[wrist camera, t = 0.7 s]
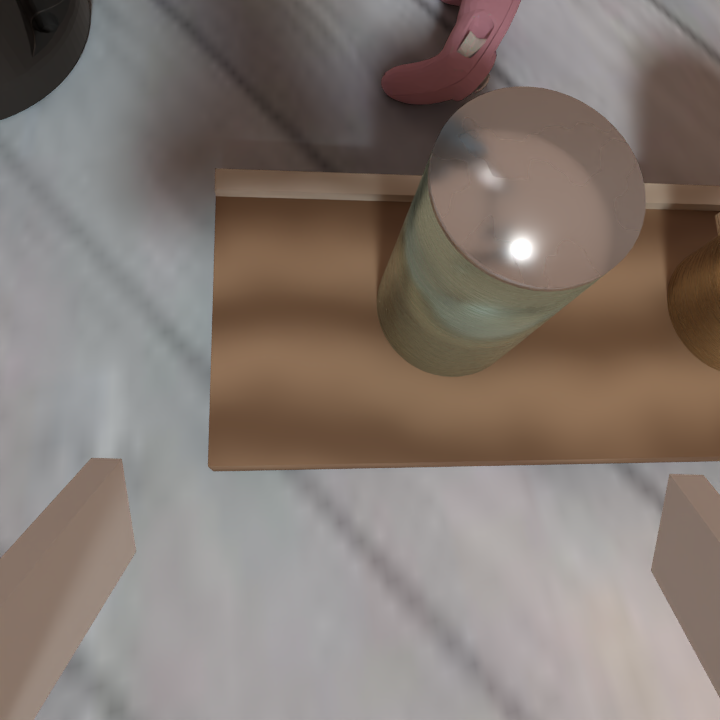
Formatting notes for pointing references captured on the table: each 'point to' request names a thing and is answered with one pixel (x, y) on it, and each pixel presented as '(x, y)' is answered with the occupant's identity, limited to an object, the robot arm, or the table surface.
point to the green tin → (507, 227)
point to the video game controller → (455, 56)
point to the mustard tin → (698, 301)
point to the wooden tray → (422, 389)
